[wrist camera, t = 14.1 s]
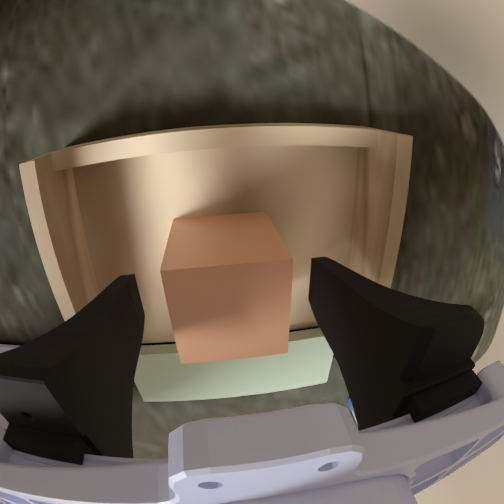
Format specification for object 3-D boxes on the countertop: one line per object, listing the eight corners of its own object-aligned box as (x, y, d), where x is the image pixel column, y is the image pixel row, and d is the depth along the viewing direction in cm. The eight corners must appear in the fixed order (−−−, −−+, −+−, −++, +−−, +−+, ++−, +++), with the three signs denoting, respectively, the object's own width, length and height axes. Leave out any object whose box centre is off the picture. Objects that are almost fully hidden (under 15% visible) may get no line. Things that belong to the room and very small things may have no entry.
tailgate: (124, 346, 17) (144, 393, 19) (122, 355, 16) (144, 401, 19) (333, 325, 19) (323, 374, 21) (338, 333, 18) (326, 382, 20)
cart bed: (111, 334, 18) (96, 385, 14) (64, 147, 13) (19, 164, 9) (343, 311, 20) (371, 357, 16) (362, 126, 14) (412, 136, 10)
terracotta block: (184, 296, 16) (180, 363, 12) (173, 219, 14) (159, 270, 10) (266, 289, 17) (287, 352, 12) (266, 211, 15) (293, 259, 10)
